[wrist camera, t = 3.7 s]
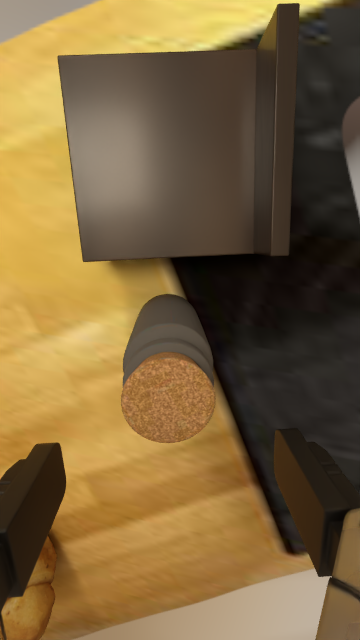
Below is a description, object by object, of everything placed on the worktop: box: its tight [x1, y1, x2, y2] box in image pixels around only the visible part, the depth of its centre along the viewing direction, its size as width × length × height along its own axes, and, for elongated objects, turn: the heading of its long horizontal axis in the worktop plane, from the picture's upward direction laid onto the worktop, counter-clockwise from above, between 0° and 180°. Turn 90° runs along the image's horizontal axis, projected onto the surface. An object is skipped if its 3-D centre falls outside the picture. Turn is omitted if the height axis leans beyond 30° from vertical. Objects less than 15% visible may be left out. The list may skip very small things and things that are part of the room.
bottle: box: [121, 294, 215, 443], centre depth 23 cm, size 6×6×15 cm
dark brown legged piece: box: [58, 3, 300, 262], centre depth 22 cm, size 14×13×9 cm
